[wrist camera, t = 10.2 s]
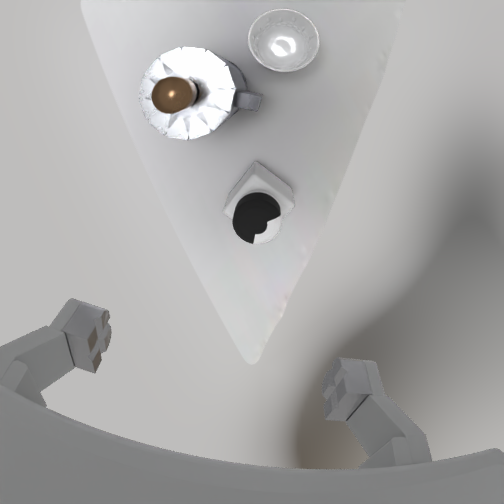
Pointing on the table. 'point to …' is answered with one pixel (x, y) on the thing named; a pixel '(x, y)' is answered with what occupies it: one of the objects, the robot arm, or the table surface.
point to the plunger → (174, 94)
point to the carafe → (210, 98)
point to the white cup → (283, 40)
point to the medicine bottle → (259, 205)
